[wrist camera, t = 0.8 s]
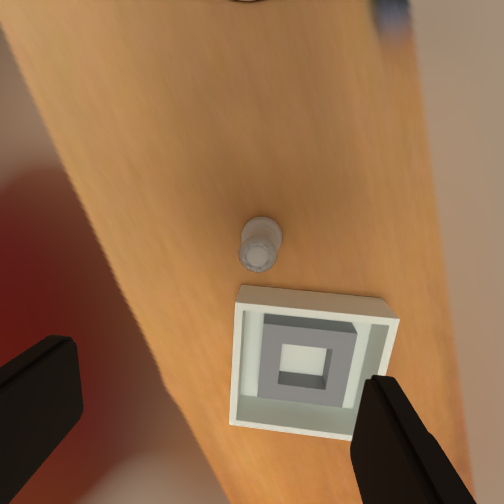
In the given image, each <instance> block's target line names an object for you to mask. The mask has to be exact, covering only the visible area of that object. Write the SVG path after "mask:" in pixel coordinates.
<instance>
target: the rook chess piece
mask: <svg viewBox="0 0 504 504" xmlns="http://www.w3.org/2000/svg"><path fill="white" fill-rule="evenodd" d="M241 241H242V244H241V245H240V248H239V252H238V253H239V260H240V261H241V263H242V265H243V266H244V267H245V268H247V269H248V270H249V271H253V272H264V271H266V270H268V269H270V268H271V267H272V266H273V265H274V264H275V262H276V259H277V251H278V249H279V248H280V245H281V242H282V230H281V229H280V227H279V225H278V223H276V222H275V221H274V220H273V219H271V218H268V217H264V216H262V217H255V218H253V219H251V220H249V221H248V222H247V223H246V225H245V226H244V227H243V231H242V234H241Z"/></svg>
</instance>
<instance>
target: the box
mask: <svg viewBox="0 0 504 504" xmlns="http://www.w3.org/2000/svg"><path fill="white" fill-rule="evenodd" d="M399 321H400V319H399V318H398V316H397V315H396V314H395V313H394V312H393V311H392V309H391V308H390V307H389V306H388V305H387V304H386V303H385V301H384V300H383V299H382V298H376V297H365V296H355V295H345V294H334V293H324V292H314V291H303V290H293V289H283V288H272V287H262V286H252V285H241V286H240V289H239V293H238V296H237V299H236V302H235V318H234V337H233V357H232V376H231V395H230V415H229V425H236V426H244V427H251V428H259V429H266V430H273V431H281V432H288V433H296V434H303V435H311V436H318V437H326V438H333V439H341V440H348V441H352V437H353V432H354V428H355V423H356V419H357V414H358V409H359V405H360V400H361V396H362V391H363V387H364V383H365V380H366V379H371V376H372V375H382V376H385V375H386V371H387V367H388V363H389V359H390V355H391V352H392V348H393V344H394V340H395V336H396V332H397V328H398V324H399Z"/></svg>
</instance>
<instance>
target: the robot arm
mask: <svg viewBox="0 0 504 504" xmlns="http://www.w3.org/2000/svg"><path fill="white" fill-rule="evenodd" d="M240 1H254V0H240ZM82 413H83V399H82V390H81V381H80V371H79V363H78V353H77V346H76V343H75V342H73V339H72V338H71V337H68V336H61V335H49V336H47V337H46V338H44V339H43V340H41V341H40V342H38V343H37V344H35V345H34V346H32V347H30V348H29V349H27V350H26V351H24V352H23V353H21V354H20V355H18V356H17V357H15V358H14V359H12V360H11V361H9V362H8V363H6V364H5V365H3V366H2V367H0V504H9V503H10V501H11V500H12V499H13V498H14V497H15V495H16V494H17V493H18V492H19V491H20V490H21V488H22V487H23V486H24V485H25V484H26V482H27V481H28V480H29V479H30V477H31V476H32V475H33V474H34V473H35V472H36V470H37V469H38V468H39V467H40V466H41V464H42V463H43V462H44V461H45V460H46V459H47V457H48V456H49V455H50V454H51V453H52V451H53V450H54V449H55V448H56V447H57V446H58V444H59V443H60V442H61V441H62V440H63V438H64V437H65V436H66V435H67V434H68V432H69V431H70V430H71V429H72V428H73V427H74V425H75V424H76V423H77V422H78V420H79V419H80V417H81V415H82ZM350 456H351V461H352V465H353V469H354V472H355V476H356V480H357V483H358V487H359V491H360V494H361V498H362V502H363V504H476V502H475V500H474V499H473V497H472V496H471V494H470V493H469V491H468V489H467V488H466V486H465V485H464V483H463V481H462V480H461V478H460V477H459V475H458V474H457V472H456V470H455V469H454V467H453V466H452V464H451V462H450V461H449V459H448V458H447V456H446V454H445V453H444V451H443V450H442V448H441V447H440V445H439V443H438V442H437V440H436V439H435V438H434V436H433V435H432V434H430V433H429V432H428V431H427V429H426V428H425V426H424V424H423V423H422V421H421V419H420V418H419V416H418V415H417V413H416V411H415V410H414V408H413V406H412V405H411V403H410V402H409V400H408V398H407V397H406V395H405V394H404V392H403V390H402V389H401V387H400V385H399V384H398V382H397V381H396V379H395V378H394V377H390V376H382V375H372V376H371V379H366V380H365V383H364V387H363V391H362V396H361V400H360V405H359V409H358V414H357V419H356V423H355V428H354V432H353V437H352V441H351V446H350Z"/></svg>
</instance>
